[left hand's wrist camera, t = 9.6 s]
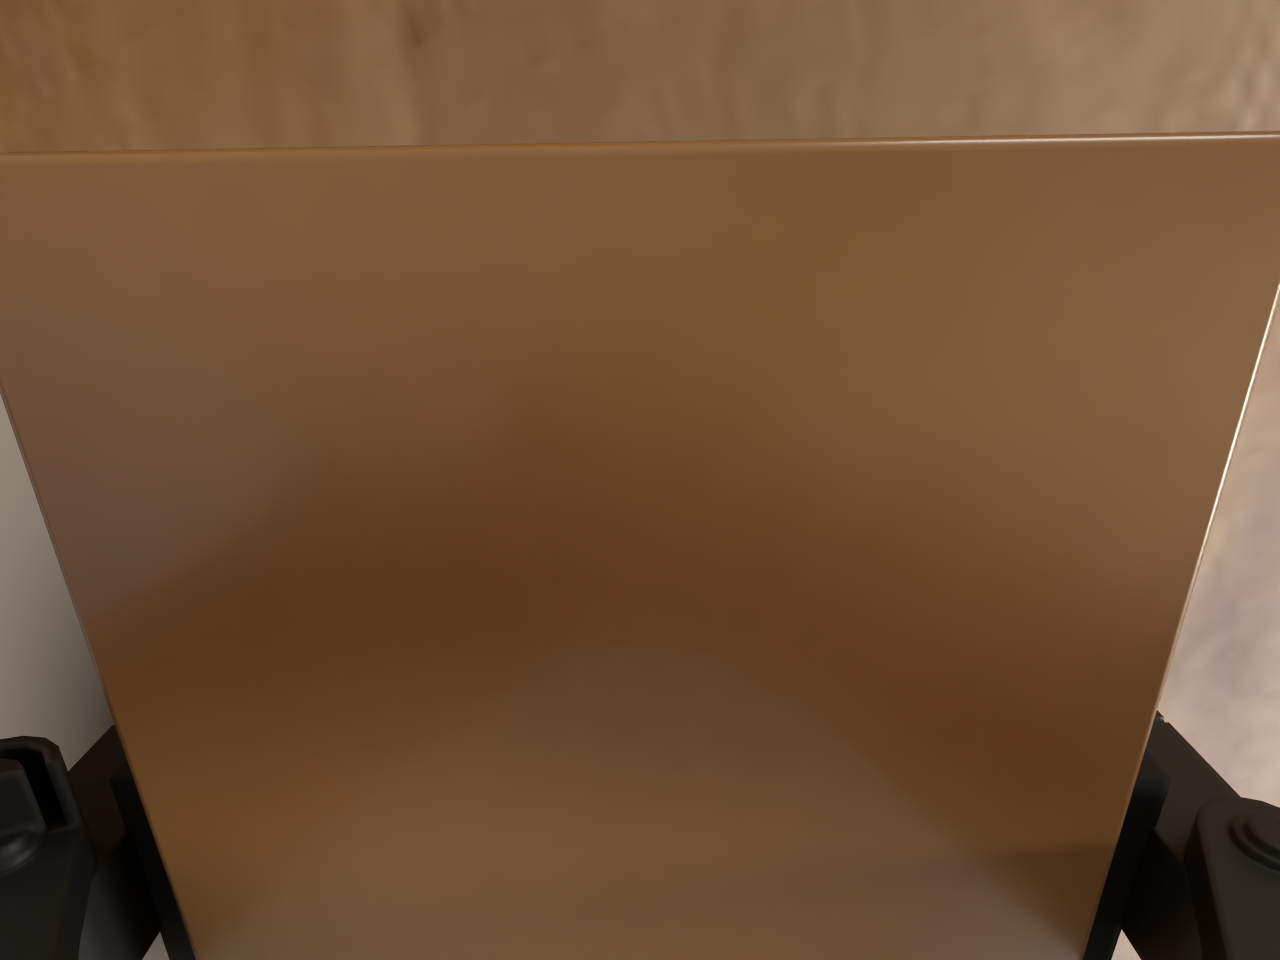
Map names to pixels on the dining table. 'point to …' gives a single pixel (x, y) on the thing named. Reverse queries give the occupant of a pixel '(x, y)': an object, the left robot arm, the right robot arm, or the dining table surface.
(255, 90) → the dining table surface
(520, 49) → the dining table surface
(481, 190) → the long beam
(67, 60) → the dining table surface
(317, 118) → the dining table surface
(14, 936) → the left robot arm
